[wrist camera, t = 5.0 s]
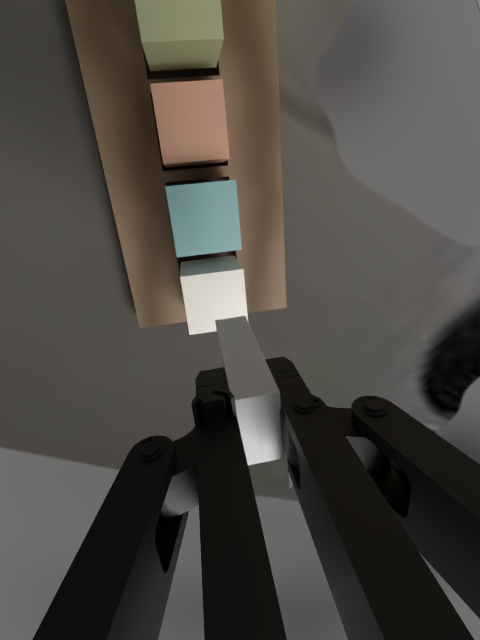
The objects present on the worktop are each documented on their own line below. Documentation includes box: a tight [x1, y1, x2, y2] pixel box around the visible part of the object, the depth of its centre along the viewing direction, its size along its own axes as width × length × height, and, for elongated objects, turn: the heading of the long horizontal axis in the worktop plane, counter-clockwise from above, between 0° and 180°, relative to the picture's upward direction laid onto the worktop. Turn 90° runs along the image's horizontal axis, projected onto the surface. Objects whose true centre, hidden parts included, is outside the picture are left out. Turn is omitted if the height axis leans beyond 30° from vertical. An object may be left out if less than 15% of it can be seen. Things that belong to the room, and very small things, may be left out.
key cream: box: [180, 256, 248, 335], centre depth 27 cm, size 5×5×5 cm
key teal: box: [165, 180, 242, 257], centre depth 24 cm, size 5×5×5 cm
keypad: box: [65, 0, 287, 328], centre depth 27 cm, size 14×25×2 cm, turn 5°
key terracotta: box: [150, 79, 230, 168], centre depth 24 cm, size 5×5×5 cm
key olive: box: [135, 0, 224, 71], centre depth 20 cm, size 5×5×5 cm
